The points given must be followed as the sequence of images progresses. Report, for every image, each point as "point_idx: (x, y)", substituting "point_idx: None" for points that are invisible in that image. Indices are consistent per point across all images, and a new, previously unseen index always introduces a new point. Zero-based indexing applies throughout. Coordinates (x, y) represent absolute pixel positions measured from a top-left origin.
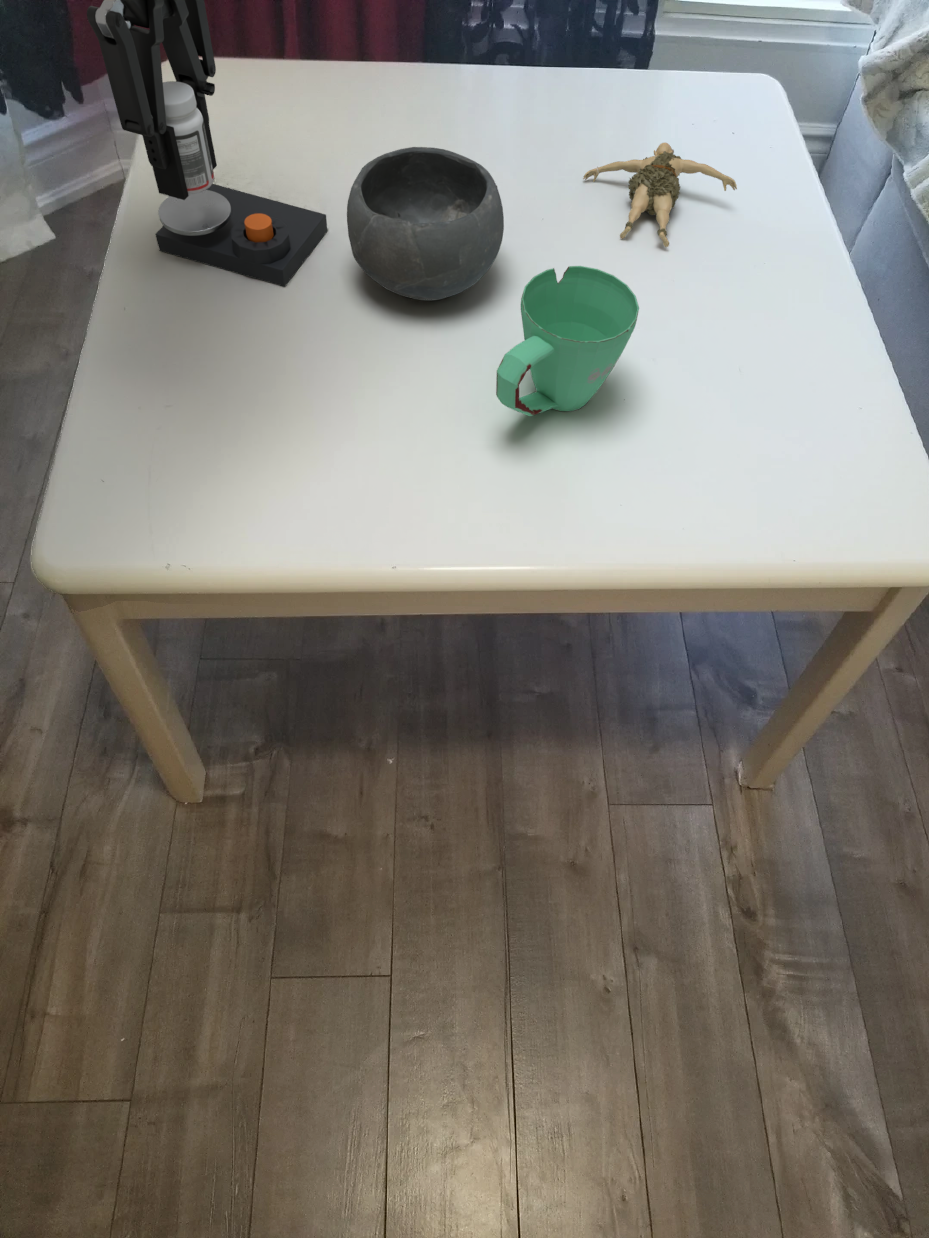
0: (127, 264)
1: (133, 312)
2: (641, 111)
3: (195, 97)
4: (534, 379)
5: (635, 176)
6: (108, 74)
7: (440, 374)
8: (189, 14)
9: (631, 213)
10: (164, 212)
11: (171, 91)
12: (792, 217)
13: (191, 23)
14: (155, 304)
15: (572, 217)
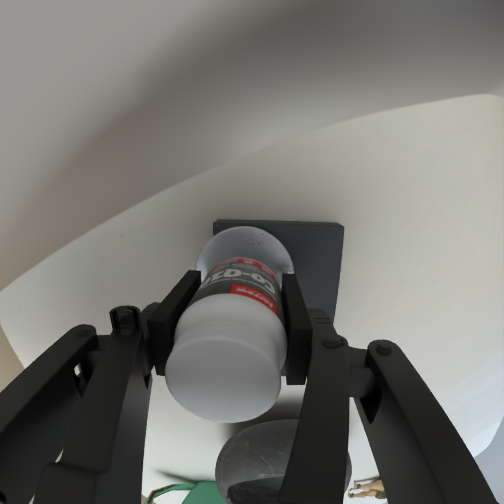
0: (181, 197)
1: (121, 247)
2: (473, 433)
3: (299, 371)
4: (192, 491)
5: None
6: (5, 391)
7: (189, 454)
8: (401, 485)
9: (365, 488)
10: (220, 242)
11: (226, 387)
12: (382, 500)
13: (394, 467)
14: (139, 261)
15: (374, 463)
